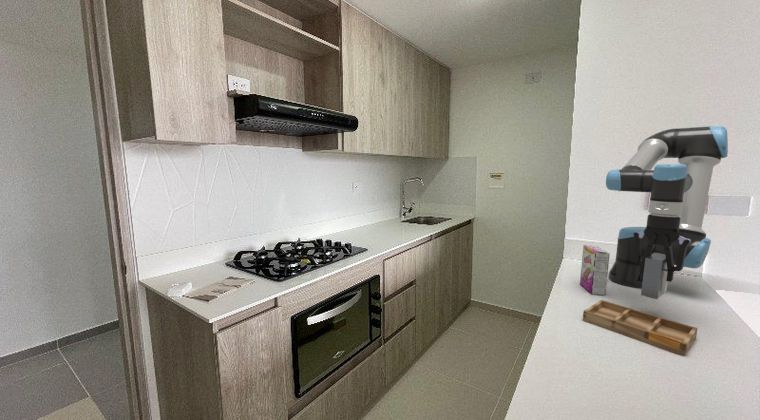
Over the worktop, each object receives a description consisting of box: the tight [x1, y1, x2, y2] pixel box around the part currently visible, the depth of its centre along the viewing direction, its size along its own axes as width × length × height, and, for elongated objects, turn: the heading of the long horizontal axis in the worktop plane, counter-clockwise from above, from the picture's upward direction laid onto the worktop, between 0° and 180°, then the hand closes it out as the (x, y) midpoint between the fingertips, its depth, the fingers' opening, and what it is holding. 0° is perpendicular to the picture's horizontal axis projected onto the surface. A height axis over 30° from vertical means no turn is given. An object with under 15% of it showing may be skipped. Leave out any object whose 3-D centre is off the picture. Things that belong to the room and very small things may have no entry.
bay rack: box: [582, 299, 698, 357], centre depth 93 cm, size 15×23×3 cm, turn 37°
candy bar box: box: [579, 244, 611, 296], centre depth 122 cm, size 11×5×16 cm, turn 168°
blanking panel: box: [640, 253, 667, 300], centre depth 100 cm, size 10×4×12 cm, turn 127°
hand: (654, 288), depth 101 cm, fingers closed on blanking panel, 4 cm apart
